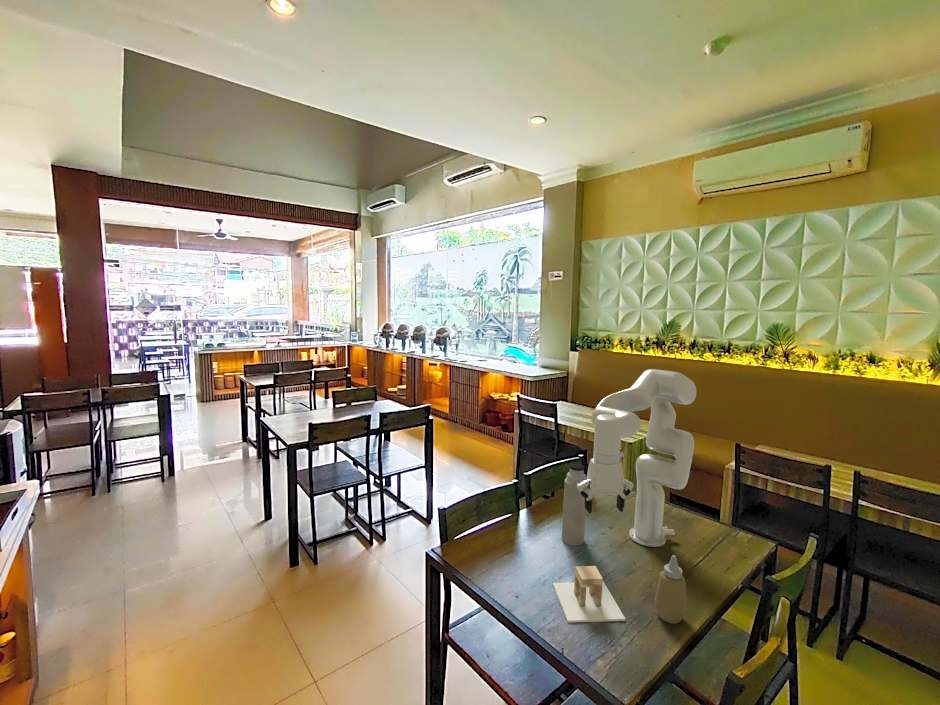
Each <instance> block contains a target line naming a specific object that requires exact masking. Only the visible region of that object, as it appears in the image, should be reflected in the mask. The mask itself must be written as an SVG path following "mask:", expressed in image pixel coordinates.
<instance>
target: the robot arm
mask: <svg viewBox="0 0 940 705" xmlns="http://www.w3.org/2000/svg"><path fill="white" fill-rule="evenodd" d="M696 398H697V386H696V385H695V383H694V381H693V380H692V379H690V378H689V377H688V376H686V375H685V374H683V373H681V372H677V371H671V370H663V369H657V368H656V369H655V368H650V369H646V370H644V371H643V372H642V373H641V375H640V376H638V378H637V379H636V381H635V382H634V383H633V384H631V386H630V387H629V388H627V389H623V390H621V391H618V392H614V393H611V394H610V395H607V396H606V397H604V398H603V399H601V401H600V402H599V403H598V404H597V405H596V406H595V408H594V409H593V412H592V414H591V424H592V426H593V427H594V429H593V430H594V432H593V434H594V436H593V458H590V461H589V464H588V468H587V474H586V480H585V481H583V482H581V483H579V484H577V488H578V490H579V492H580V494H581V495H582V496H583V497H584V498H585V509H586V512H588V514H592V512H593V509H592V508H593V501H592V499H593V497H594V496H595V495H596V496H600V495H601V496H603V495H617V496H616V508H617V510H619V511H620V512H622V513H623V511H624V508H625V502H626V501H625V500H626V499H627V497H628V496H629V495H630V494H631V492H632V490H633V488H634V487H635V484H634V483H633V482H632V481H630V480H628V479H626V478H625V477H624V469H623V462H622V460H621V458H623V457H625V452H624V451H621V442H622V440H621V439H623V438H630V437H633V436H634V435H636V434H637V433H638V432H639V430H640V428H641V419H640V417H639V416H638V414H636V413H634V412H639V411H645V410H647V409H650V417H649V423H648V427H647V431H646V437H645V445H646V447H647V448H648V449H649V450H651V451H654V452H657V453H661V454H664V455H669V456H673V457H674V458H675V460H674V459H671V458H667V457H664V456H660V455H657V454H651V453H645V454H644V453H643V454H641V455H639V456H638V457H637V459H636V461H635V474H636V497H635V510H634V522H633V524H634V525H633V527H632V528H630V529H629V530H628V531H629V532H628V534H629V537H630V539H631V540H632V541H634V542H635V543H637V544H639V545H642V546H645V547H651V548H659V547H662V546H664V545H665V544H666V541H667V539H666V538H667V535H668V536H674V535H675V534H676V532H675V529H673V528H669V527H668V526H663V522H664V509H665V497H666V495H665V490H664V488H663V487H662V486H664V487H668V488H671V489H674V490H684V488H685V487H686V486H687V484H688V480H689V477H690V473H691V471H690V470H691V467H692V466H691V465H692V462H693V455H694V452H695V451H694V450H695V449H694V448H695V439H694V437H693V435H692V433H691V432H688V431H686V430H682V429H679V428H678V429H677V428H675V424H676V419H677V412H676V411H675V408H674V406H673V405H672V403H674V404H679V405H686V406H687V405H690V404H692V403H693V402H694V401H695V400H696ZM625 485H626V486H625ZM586 486H587V491H586V492H584V490H583V488H584V487H586ZM624 486H625V488H624Z"/></svg>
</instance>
